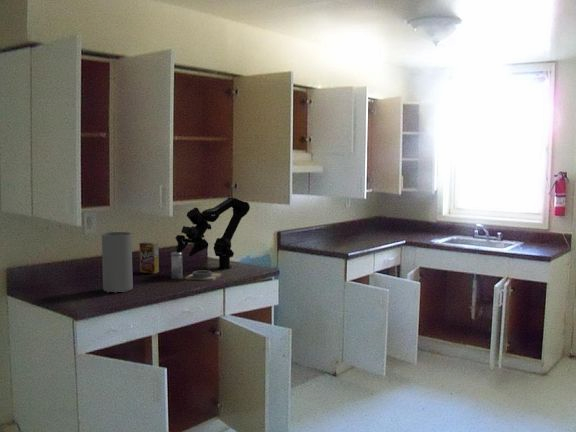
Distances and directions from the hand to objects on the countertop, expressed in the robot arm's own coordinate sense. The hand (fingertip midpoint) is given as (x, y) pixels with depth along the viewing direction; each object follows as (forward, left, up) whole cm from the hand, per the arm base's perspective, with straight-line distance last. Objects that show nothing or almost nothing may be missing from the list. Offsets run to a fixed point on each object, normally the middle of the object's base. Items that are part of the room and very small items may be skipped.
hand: (182, 255), depth 286 cm
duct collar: (+1, +10, -11) cm, 15 cm away
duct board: (-1, +10, -11) cm, 15 cm away
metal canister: (+4, -2, -11) cm, 11 cm away
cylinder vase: (+34, -17, -11) cm, 39 cm away
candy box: (-6, -21, -11) cm, 24 cm away
